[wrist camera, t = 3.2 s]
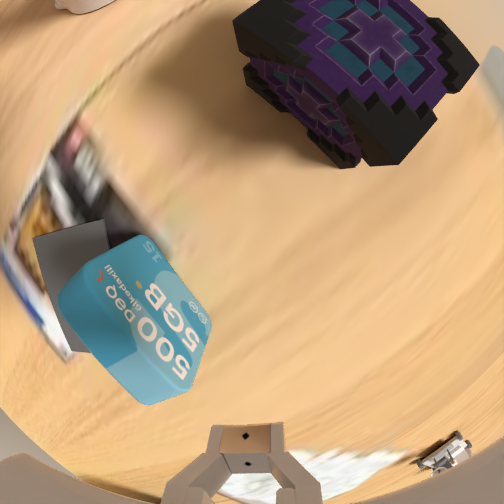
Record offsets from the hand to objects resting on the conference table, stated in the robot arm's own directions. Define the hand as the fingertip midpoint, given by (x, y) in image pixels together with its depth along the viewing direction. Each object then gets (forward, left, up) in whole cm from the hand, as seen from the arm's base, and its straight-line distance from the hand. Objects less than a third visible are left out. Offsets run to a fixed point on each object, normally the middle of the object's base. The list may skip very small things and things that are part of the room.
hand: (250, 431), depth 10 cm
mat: (0, -22, -18) cm, 29 cm away
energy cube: (-18, +10, -18) cm, 28 cm away
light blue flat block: (0, -10, -18) cm, 21 cm away
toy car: (+51, +37, -19) cm, 66 cm away
